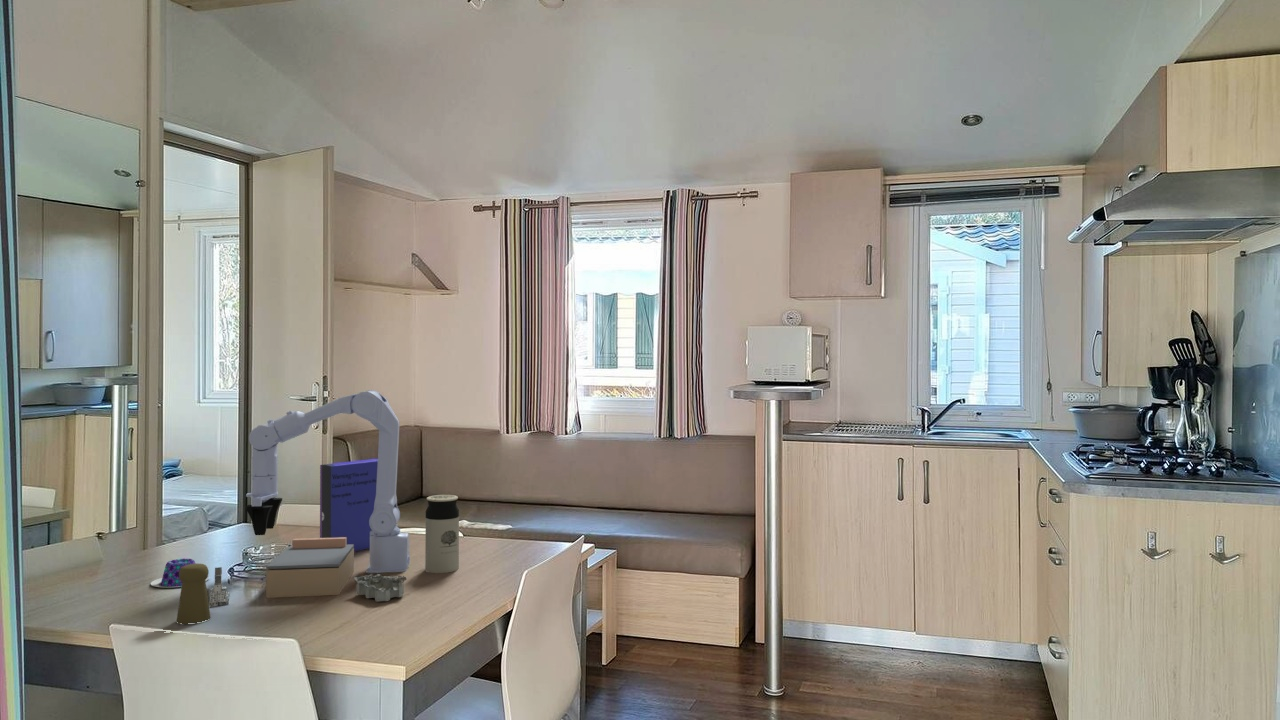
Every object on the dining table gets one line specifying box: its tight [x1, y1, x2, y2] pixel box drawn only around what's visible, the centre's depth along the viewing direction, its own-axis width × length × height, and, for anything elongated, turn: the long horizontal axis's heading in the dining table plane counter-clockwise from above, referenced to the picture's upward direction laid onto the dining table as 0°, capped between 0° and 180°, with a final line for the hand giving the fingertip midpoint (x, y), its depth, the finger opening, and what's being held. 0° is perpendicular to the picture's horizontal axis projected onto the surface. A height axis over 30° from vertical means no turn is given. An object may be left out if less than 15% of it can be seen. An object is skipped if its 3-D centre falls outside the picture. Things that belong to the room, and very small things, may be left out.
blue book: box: [319, 458, 378, 552], centre depth 231 cm, size 17×5×24 cm, turn 144°
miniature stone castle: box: [206, 566, 231, 607], centre depth 182 cm, size 9×9×8 cm
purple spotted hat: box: [150, 558, 210, 589], centre depth 198 cm, size 12×12×5 cm
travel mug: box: [424, 494, 460, 574], centre depth 209 cm, size 8×8×18 cm
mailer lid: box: [265, 537, 354, 570], centre depth 196 cm, size 15×20×3 cm
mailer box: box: [265, 548, 355, 599], centre depth 196 cm, size 15×20×6 cm
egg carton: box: [353, 573, 407, 603], centre depth 186 cm, size 11×8×4 cm
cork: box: [176, 562, 211, 624], centre depth 169 cm, size 6×6×11 cm
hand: (264, 531), depth 205 cm, fingers open, 7 cm apart
